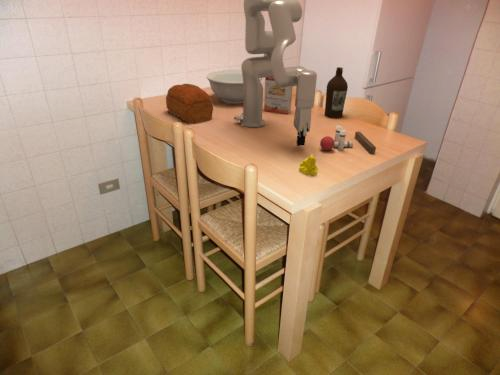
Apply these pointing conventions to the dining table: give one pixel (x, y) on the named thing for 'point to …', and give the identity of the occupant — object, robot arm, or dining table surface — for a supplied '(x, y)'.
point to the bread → (189, 103)
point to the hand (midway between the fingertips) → (300, 144)
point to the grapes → (309, 166)
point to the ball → (327, 143)
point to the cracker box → (277, 97)
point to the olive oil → (336, 95)
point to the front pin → (345, 144)
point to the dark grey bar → (365, 142)
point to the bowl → (227, 85)
